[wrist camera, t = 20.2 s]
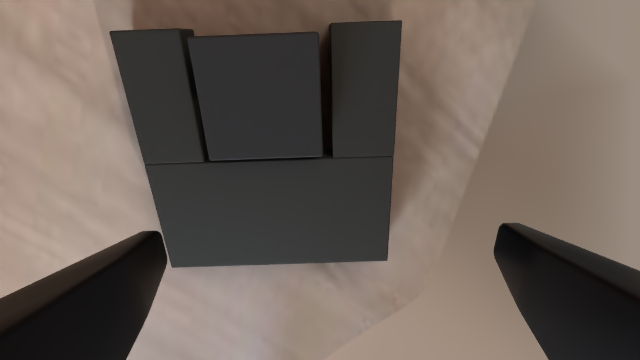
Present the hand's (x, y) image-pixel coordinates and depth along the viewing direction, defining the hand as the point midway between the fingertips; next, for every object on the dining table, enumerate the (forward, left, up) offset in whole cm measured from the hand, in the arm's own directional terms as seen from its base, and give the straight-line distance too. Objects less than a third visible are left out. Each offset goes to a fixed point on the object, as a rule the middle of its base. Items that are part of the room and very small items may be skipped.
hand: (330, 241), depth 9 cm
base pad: (+3, +1, -12) cm, 12 cm away
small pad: (+3, -2, -12) cm, 12 cm away
